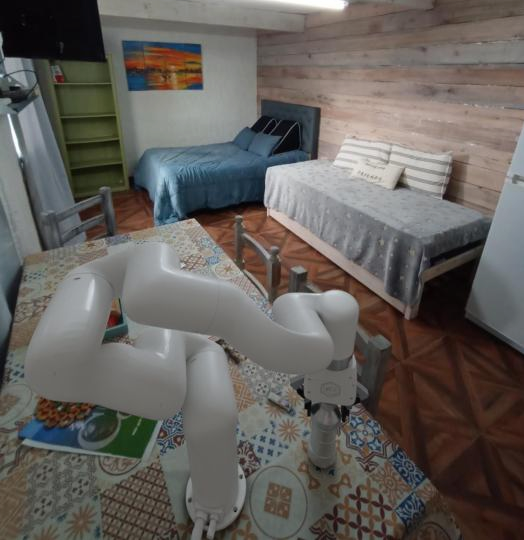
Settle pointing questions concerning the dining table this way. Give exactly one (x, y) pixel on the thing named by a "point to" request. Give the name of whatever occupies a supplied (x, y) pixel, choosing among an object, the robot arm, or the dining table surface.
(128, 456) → the dining table surface
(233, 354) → the walnut chopstick
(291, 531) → the dining table surface
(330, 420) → the plastic bottle
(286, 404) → the granola bar
